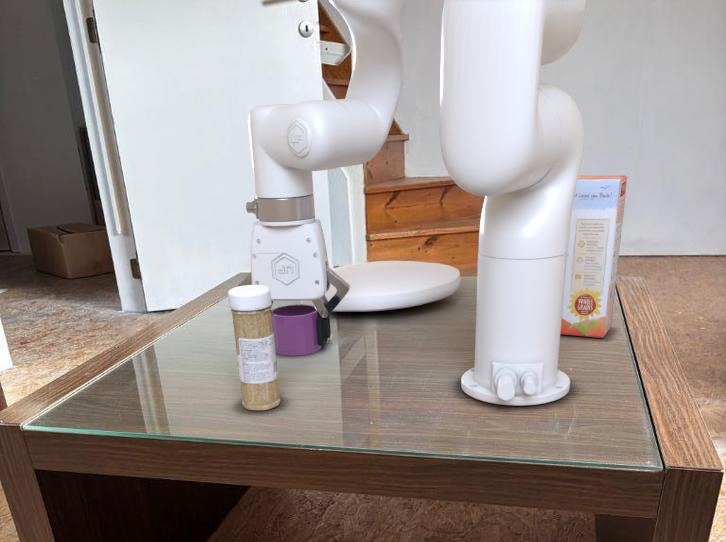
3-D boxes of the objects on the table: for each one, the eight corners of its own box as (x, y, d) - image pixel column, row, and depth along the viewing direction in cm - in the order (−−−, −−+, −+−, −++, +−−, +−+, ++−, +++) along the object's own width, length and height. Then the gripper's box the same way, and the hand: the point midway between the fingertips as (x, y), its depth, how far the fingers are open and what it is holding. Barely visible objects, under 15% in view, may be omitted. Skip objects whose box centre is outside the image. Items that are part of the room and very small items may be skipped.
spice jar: (250, 397, 87) (236, 283, 81) (286, 398, 86) (275, 283, 80) (236, 411, 83) (220, 292, 77) (274, 413, 82) (261, 293, 76)
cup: (315, 356, 100) (312, 316, 98) (268, 355, 101) (264, 316, 99) (325, 341, 106) (323, 304, 104) (280, 341, 107) (277, 304, 105)
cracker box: (611, 328, 106) (630, 173, 97) (603, 340, 102) (621, 178, 92) (517, 320, 112) (526, 174, 103) (505, 331, 107) (513, 178, 98)
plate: (280, 294, 114) (308, 262, 137) (288, 334, 117) (314, 296, 140) (460, 270, 110) (457, 241, 133) (463, 313, 112) (460, 277, 136)
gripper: (213, 216, 93) (230, 350, 102) (346, 212, 91) (352, 351, 99) (231, 208, 100) (246, 335, 108) (355, 205, 97) (361, 336, 105)
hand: (297, 342), depth 103 cm, fingers closed on cup, 6 cm apart
